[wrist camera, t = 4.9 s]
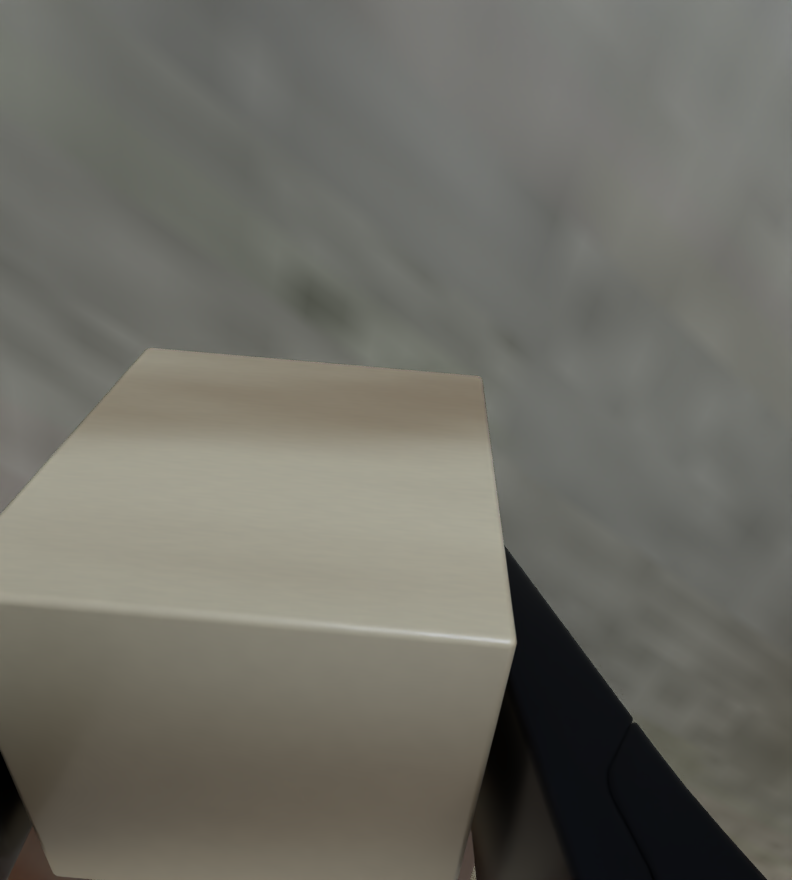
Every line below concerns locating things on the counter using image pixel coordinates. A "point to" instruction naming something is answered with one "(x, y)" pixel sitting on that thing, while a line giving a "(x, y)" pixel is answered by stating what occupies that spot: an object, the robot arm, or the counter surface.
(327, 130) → the counter surface
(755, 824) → the counter surface
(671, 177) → the counter surface
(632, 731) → the robot arm
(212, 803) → the block
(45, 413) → the counter surface
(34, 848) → the lid
